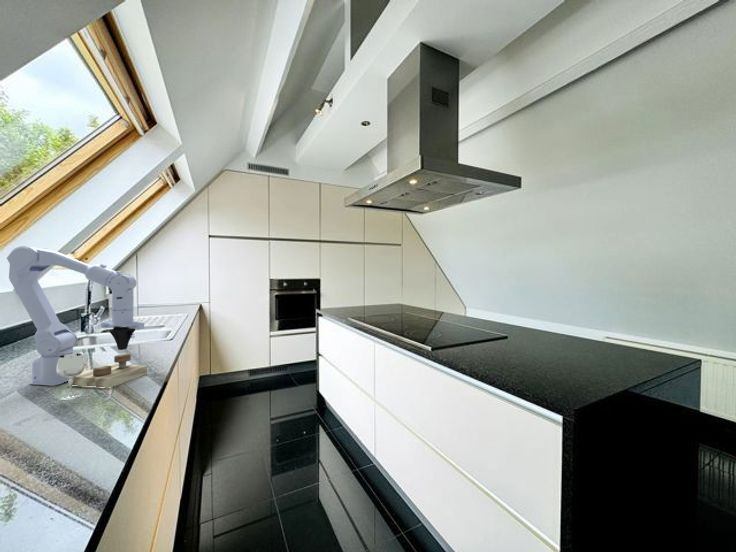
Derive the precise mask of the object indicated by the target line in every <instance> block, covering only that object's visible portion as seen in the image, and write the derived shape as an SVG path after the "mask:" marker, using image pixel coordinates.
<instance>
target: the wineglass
mask: <svg viewBox="0 0 736 552" xmlns="http://www.w3.org/2000/svg"><path fill="white" fill-rule="evenodd" d="M85 365H86V363H85V358H84V356H83V353H80V352H79V353H78V352H77V353H76V352H75V353H73V354H67V355H63V356H60V357H59V359H58V363H57V367H56V371H57V374H58V376H60V377H62V378H69V381H68V382H67V383H68V387H69V392H68V394H67V395H64V396H65V397H64V396H63V397H64V398H70V397H74V396H76V395H77V394H78V393H73V390H72V389H73V388H72V387H73V386H72V383H73V379H72V378H73V377H76V376H78V375H80V374H81V373H82V372H84V370H85Z"/></svg>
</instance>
